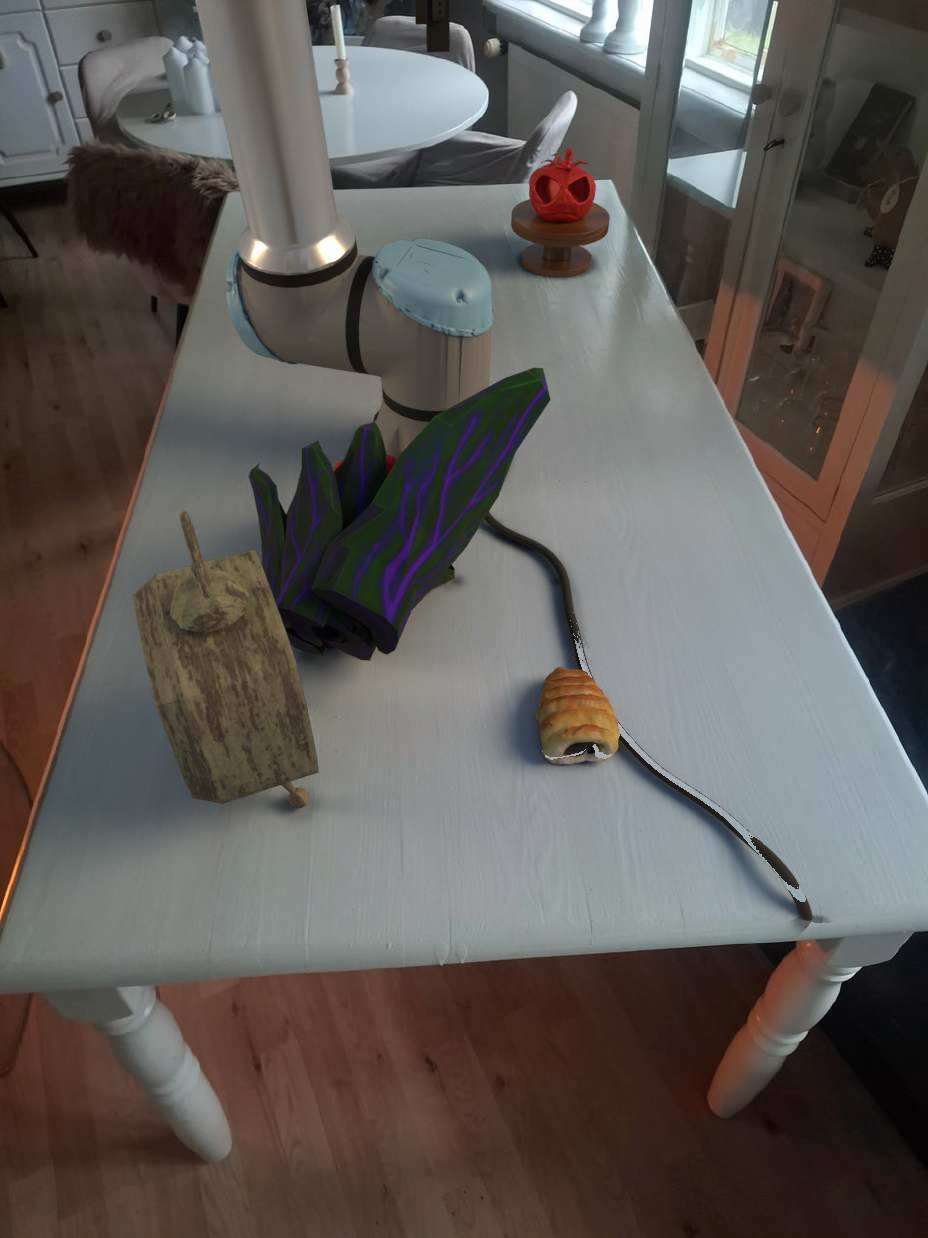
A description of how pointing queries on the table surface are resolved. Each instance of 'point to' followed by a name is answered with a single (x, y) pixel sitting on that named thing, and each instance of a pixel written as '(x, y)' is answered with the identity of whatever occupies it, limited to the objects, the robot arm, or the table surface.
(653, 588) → the table surface
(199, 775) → the brown boxy piece
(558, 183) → the angry red tomato
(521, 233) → the stand
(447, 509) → the decorative plant
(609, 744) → the pastry
